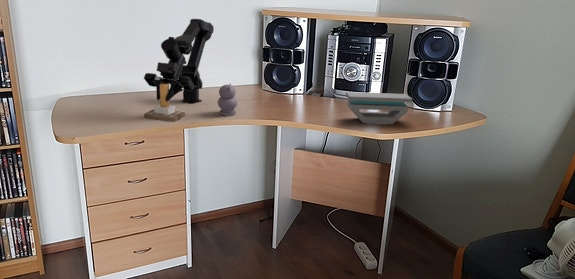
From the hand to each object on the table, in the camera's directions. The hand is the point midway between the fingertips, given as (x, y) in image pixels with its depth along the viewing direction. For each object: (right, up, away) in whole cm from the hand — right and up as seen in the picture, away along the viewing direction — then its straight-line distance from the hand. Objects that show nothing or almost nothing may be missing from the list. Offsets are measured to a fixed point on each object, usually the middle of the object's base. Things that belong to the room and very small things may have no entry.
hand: (162, 100), depth 165 cm
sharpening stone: (+83, -8, +13) cm, 85 cm away
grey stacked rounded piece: (+23, -5, +12) cm, 26 cm away
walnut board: (0, -6, +4) cm, 7 cm away
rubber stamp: (0, -4, +4) cm, 6 cm away
